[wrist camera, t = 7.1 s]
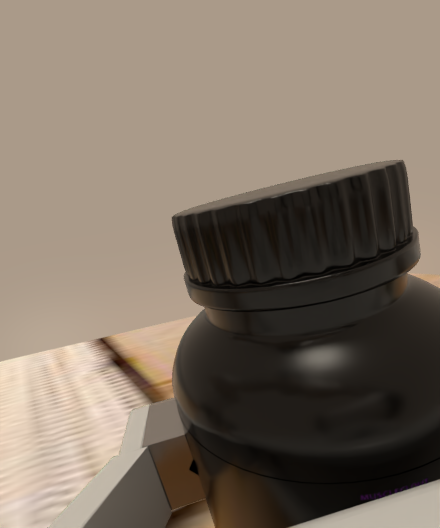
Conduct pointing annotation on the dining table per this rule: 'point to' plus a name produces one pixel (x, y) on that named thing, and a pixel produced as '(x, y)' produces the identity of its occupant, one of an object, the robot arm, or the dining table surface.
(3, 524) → the dining table surface
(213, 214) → the supplement bottle
